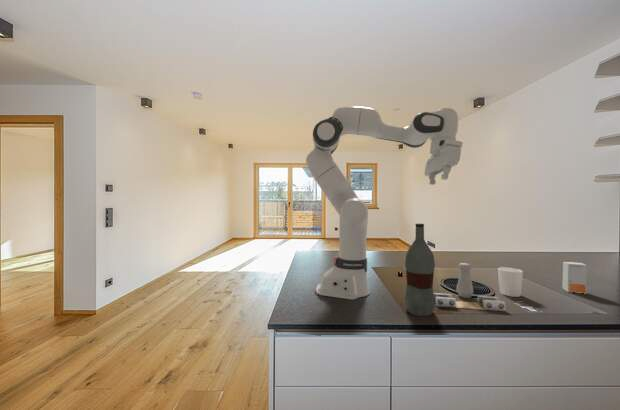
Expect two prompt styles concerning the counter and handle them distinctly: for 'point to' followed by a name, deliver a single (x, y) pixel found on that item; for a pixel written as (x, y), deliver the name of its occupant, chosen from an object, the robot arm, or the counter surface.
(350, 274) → the robot arm
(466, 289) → the salt shaker
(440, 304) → the chain end
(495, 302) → the chain end
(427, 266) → the bottle
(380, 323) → the counter surface
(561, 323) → the counter surface
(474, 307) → the pad
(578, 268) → the skincare box
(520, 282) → the white cup
